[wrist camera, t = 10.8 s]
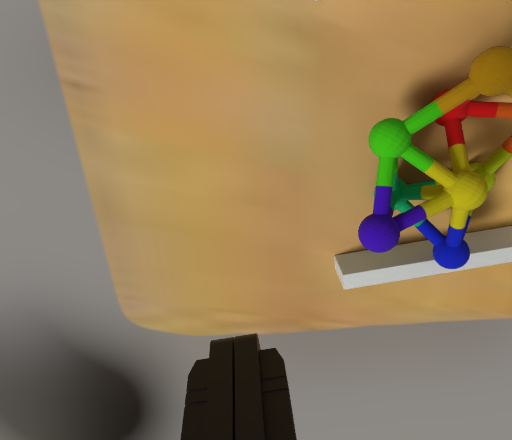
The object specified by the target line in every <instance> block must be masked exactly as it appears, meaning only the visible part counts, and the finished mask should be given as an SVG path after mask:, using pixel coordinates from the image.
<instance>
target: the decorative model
mask: <svg viewBox="0 0 512 440" xmlns="http://www.w3.org/2000/svg"><path fill="white" fill-rule="evenodd" d="M503 93H507V94H508V95H509V96H511V97H512V48H509V47H503V46H499V47H493V48H490V49H488V50H486V51H485V52H483V53H481V54H480V55H479V56H478V57H477V58H476V59H475V60H474V61H473V63H472V65H471V68H470V72H469V78H468V79H467V80H465V81H463V82H462V83H460V84H459V85H457V86H456V87H454V88H453V89H447V90H444V91H442V92H440V93H439V94H437V95H436V96H435V97H434V99H433V100H432V102H431V103H430V104H428V105H427V106H425V107H424V108H422V109H421V110H419V111H418V112H416V113H414V114H413V115H411V116H410V117H408V118H407V119H405V120H404V121H401V120H399V119H396V118H388V119H384V120H382V121H380V122H378V123H377V124H376V125H375V126H374V127H373V128H372V130H371V132H370V135H369V145H370V148H371V150H372V152H373V153H374V154H375V155H376V156H378V157H379V165H378V173H377V182H376V188H375V191H374V197H375V200H374V209H373V214H371V215H369V216H367V217H366V218H365V219H364V220H363V221H362V222H361V224H360V226H359V230H358V236H359V239H360V241H361V243H362V245H363V246H364V247H365V248H366V249H368V250H370V251H372V252H376V253H383V252H387V251H389V250H391V249H392V248H393V247H394V246H395V245H396V244H397V242H398V240H399V237H400V231H402V230H404V229H406V228H408V227H410V226H412V225H414V226H415V227H416V228H417V229H418V230H419V231H420V232H421V233H422V234H423V235H424V236H425V237H426V238H427V239H428V240H429V241H430V242H431V243H432V244H433V245H434V247H433V257H434V259H435V261H436V262H437V263H438V264H439V265H440V266H442V267H444V268H447V269H457V268H460V267H462V266H464V265H465V264H466V263H467V262H468V260H469V257H470V249H469V246H468V244H467V243H466V242H465V241H464V240H463V239H464V236H465V233H466V230H467V227H468V224H469V221H470V218H471V215H472V212H473V209H475V208H477V207H479V206H480V205H482V204H483V202H484V201H485V200H486V198H487V195H488V192H489V191H490V190H491V189H492V188H493V186H494V184H495V173H494V172H495V171H496V170H497V169H498V168H499V167H500V166H501V165H503V164H504V163H505V162H506V161H507V160H508V159H509V158H510V157H511V156H512V136H511V137H510V138H509V139H507V140H506V141H505V142H504V143H503V144H502V145H501V146H500V147H499V148H498V149H497V150H496V151H495V152H494V153H493V154H492V155H491V156H490V157H489V158H488V159H487V160H486V161H485V162H484V163H472V164H469V162H468V157H467V152H466V146H465V141H464V136H463V130H462V125H461V121H463V120H464V119H465V118H466V117H467V116H473V117H491V118H509V119H512V103H505V102H481V101H472V100H473V99H474V98H476V97H477V96H478V95H480V94H482V95H485V96H496V95H500V94H503ZM433 121H434V122H436V123H437V124H439V125H441V126H445V131H446V136H447V142H448V147H449V153H450V159H451V164H452V170H453V172H452V171H450V170H449V169H447V168H446V167H444V166H443V165H441V164H440V163H439V162H437V161H436V160H434V159H433V158H431V157H430V156H429V155H427V154H426V153H424V152H423V151H421V150H420V149H418V148H417V147H416V146H414V145H413V144H411V139H412V137H411V135H412V134H413V133H415V132H417V131H418V130H420V129H421V128H423V127H425V126H426V125H428V124H430V123H431V122H433ZM398 157H402V158H403V159H405V160H406V161H408V162H409V163H410V164H412V165H413V166H415V167H416V168H418V169H419V170H421V171H422V172H424V173H425V174H427V175H428V176H430V177H431V178H432V179H434V180H431V181H425V182H419V183H414V184H408V185H406V183H405V182H404V181H403V180H401V179H399V178H398ZM427 199H430V200H428V201H426V202H423V203H421V204H419V205H417V206H415V207H414V206H413V205H412V204H411V203H410V202H409V201H408V200H427ZM449 207H453V209H452V214H451V219H450V223H449V228H448V233H447V236H444V235H443V234H442V233H441V232H440V231H439V230H438V229H437V228H436V227H435V226H434V225H432V224H431V223H430V222H429V221H428V220H427V218H429V217H431V216H433V215H435V214H437V213H439V212H441V211H443V210H445V209H447V208H449ZM396 209H398V210H399V211H400V212H401V214H399V215H397V216H395V217H393V218H392V215H393V211H394V210H396Z"/></svg>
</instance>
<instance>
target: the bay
mask: <svg viewBox="0 0 512 440" xmlns="http://www.w3.org/2000/svg"><path fill="white" fill-rule="evenodd" d="M314 1H317V0H314ZM463 240H464V241H465V242H466V243H467V244H468V246H469V249H470V257H469V260H468V262H467V263H466V264H465V265H464V266H462V267H460V268H457V269H447V268H444V267H442V266H440V265H439V264H438V263H437V262H436V261H435V259H434V257H433V247H434V245H433V244H432V243H431V242H430V241H429V240H424V241H418V242H412V243H406V244H400V245H395V246H394V247H393V248H392V249H391V250H389V251H387V252H383V253H376V252H372V251H370V250H364V251H358V252H353V253H347V254H341V255H335V256H334V257H335V269H336V272H337V274H338V276H339V279H340V281H341V283H342V286H343V288H344V289H350V288H357V287H363V286H369V285H375V284H381V283H387V282H393V281H399V280H405V279H411V278H417V277H423V276H429V275H435V274H441V273H447V272H453V271H459V270H465V269H471V268H477V267H483V266H489V265H495V264H501V263H507V262H512V226H507V227H502V228H496V229H490V230H484V231H478V232H472V233H466V234H465V236H464V239H463Z"/></svg>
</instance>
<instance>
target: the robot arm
mask: <svg viewBox="0 0 512 440" xmlns="http://www.w3.org/2000/svg"><path fill="white" fill-rule="evenodd" d="M181 440H297V439H296V433H295V426H294V420H293V413H292V407H291V400H290V394H289V388H288V382H287V376H286V370H285V364H284V360H283V358H282V357H281V355H280V354H279V353H278V351H277V350H276V348H271V349H265V350H261V349H260V344H259V339H258V335H257V333H256V334H250V335H243V336H237V337H235V339H234V337H232V338H225V339H218V340H212V341H211V342H210V354H209V358H208V359H202V360H196V362H195V364H194V366H193V367H192V369H191V371H190V373H189V375H188V382H187V394H186V399H185V408H184V417H183V424H182V433H181Z"/></svg>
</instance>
